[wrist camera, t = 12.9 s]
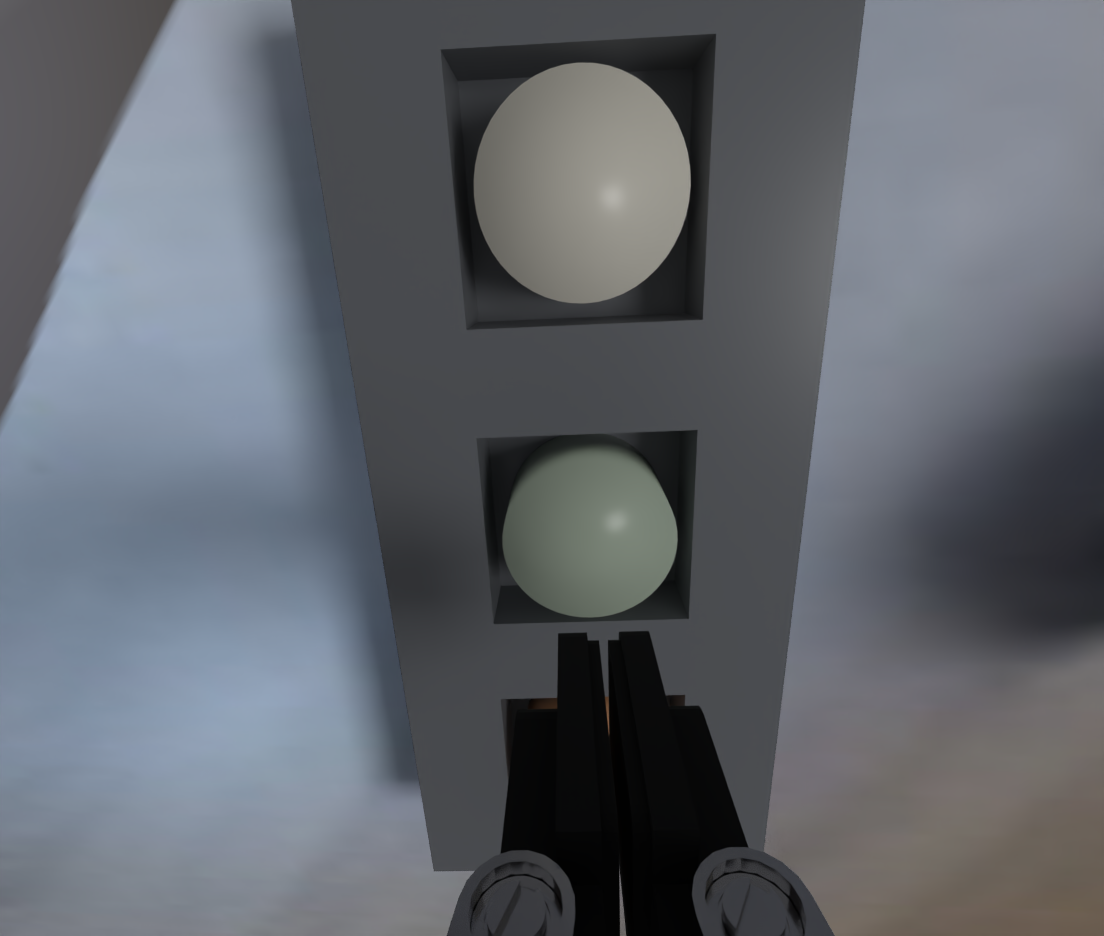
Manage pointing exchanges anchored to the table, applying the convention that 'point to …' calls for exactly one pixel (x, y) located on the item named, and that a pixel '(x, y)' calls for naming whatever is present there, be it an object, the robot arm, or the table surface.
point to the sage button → (588, 526)
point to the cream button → (582, 182)
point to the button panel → (582, 355)
